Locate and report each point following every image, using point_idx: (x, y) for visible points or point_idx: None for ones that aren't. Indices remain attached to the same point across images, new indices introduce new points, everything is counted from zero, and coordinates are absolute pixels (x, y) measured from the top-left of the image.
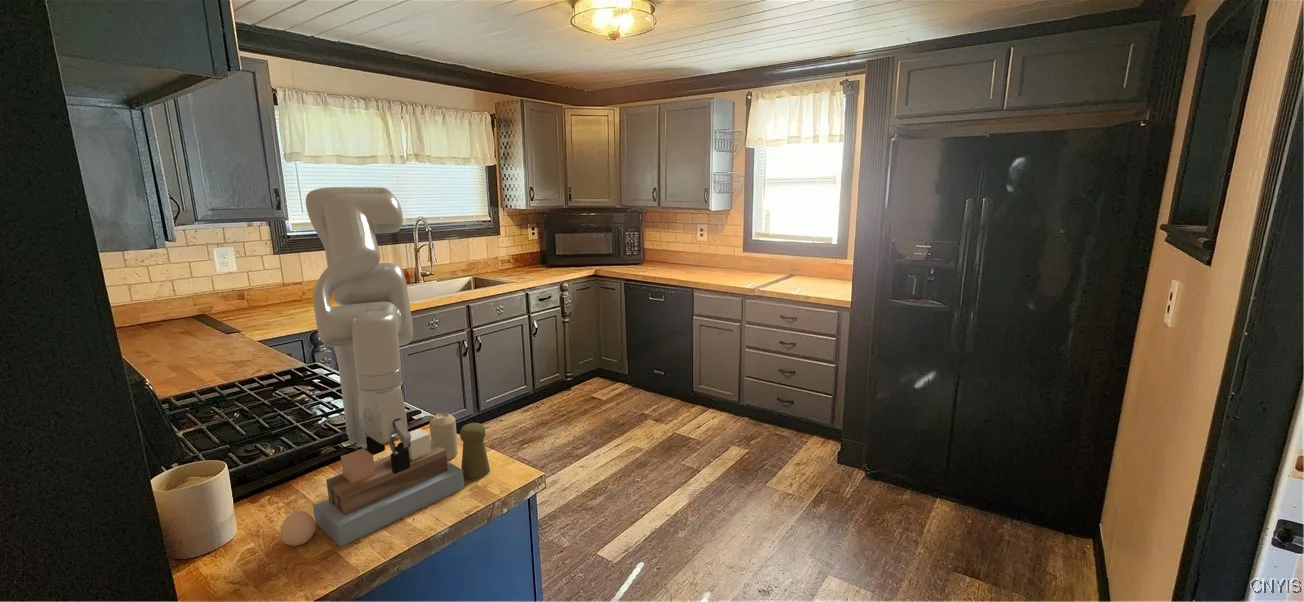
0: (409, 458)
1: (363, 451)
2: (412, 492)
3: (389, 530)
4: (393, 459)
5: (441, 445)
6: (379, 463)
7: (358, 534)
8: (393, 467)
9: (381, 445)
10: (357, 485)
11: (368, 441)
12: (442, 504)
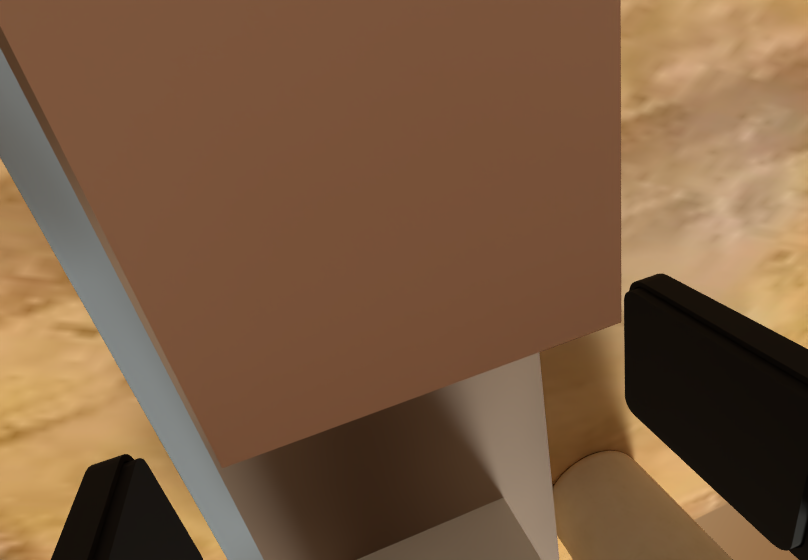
0: (380, 550)
1: (496, 318)
2: (154, 418)
3: (8, 192)
4: None
5: (603, 546)
6: None
7: None
8: (67, 531)
9: (671, 426)
10: (5, 41)
11: (777, 382)
12: (167, 463)
